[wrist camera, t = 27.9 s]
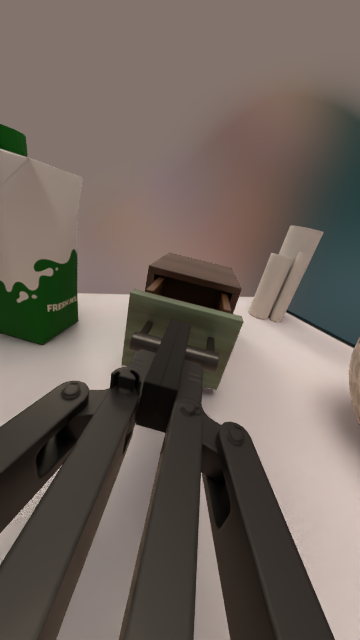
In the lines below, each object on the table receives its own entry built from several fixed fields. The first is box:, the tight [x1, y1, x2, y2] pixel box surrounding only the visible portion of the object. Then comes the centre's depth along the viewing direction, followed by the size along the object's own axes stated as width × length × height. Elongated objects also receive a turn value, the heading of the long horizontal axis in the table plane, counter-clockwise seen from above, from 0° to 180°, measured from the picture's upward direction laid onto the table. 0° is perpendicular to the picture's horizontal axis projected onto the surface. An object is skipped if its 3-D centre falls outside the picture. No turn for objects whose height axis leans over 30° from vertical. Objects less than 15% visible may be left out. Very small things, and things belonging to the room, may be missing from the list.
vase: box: [249, 226, 323, 322], centre depth 48 cm, size 11×7×20 cm, turn 140°
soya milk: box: [0, 124, 83, 345], centre depth 23 cm, size 9×9×20 cm
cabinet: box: [145, 253, 241, 314], centre depth 34 cm, size 14×12×10 cm
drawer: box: [122, 275, 243, 390], centre depth 24 cm, size 17×11×8 cm, turn 172°
